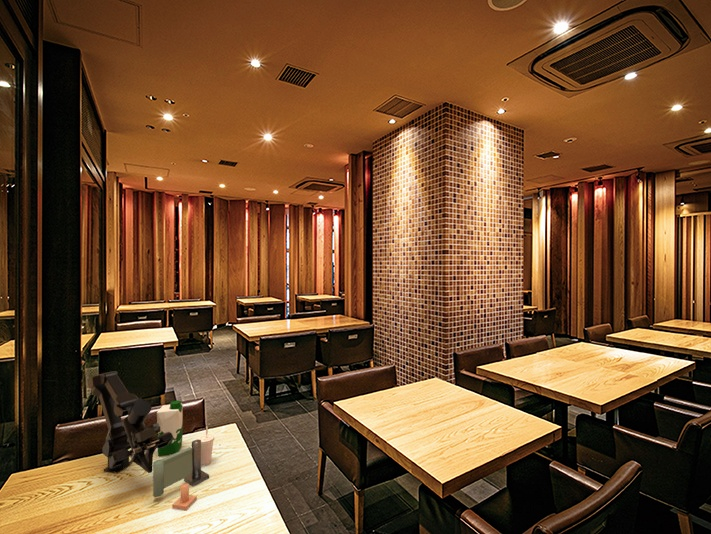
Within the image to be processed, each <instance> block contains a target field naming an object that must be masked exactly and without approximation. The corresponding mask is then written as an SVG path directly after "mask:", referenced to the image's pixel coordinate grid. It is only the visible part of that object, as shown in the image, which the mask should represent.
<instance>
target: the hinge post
mask: <svg viewBox="0 0 711 534" xmlns="http://www.w3.org/2000/svg"><path fill="white" fill-rule="evenodd" d="M191 448H192V475H190V476H188V477H186V478H184V479H183V481H184V483H189V486H191V487H192V488H194V487H196V486H198V485H199V484H201V483H203V482H205V481H207V480H208V479H210V474H209V473H207V472H205V471H203V470H202V465H201V440H197V439H195V440H192V441H191Z"/></svg>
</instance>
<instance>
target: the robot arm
mask: <svg viewBox="0 0 711 534" xmlns="http://www.w3.org/2000/svg"><path fill="white" fill-rule="evenodd" d="M87 384H88V385H87V387H88V388H89V389H90V390H91V393H92V395H94V396H96V397H97V398H98V399H99V402H100V406H101V409H102V413H103V415H104V416H103V417H104V418H105V419H104V420H105V423H106V426H107V430H108V432H107V435H106V437H105V443H104V444H103V446H102V447H101V448H102V449H101V450H102V454H103V456H105V457H106V458H107V467H106V468H103V472H110V473H116V474H117V473H120V472H121V471H123V470H124V469H126V468H127V467H129V466H130V465H132V464H133V463H134V464H135V465H137V466H139V467H140V468H141V469H142V470H144V471H145V472H146V473H148V474H151V473H153V462H154V461H153V460H154V453H155V451H156V450H157V449H158V448H159V449H160V448H163V447H165V446H167V445H169V443H170V442H171V440H172V439H173V435H172V433H170V432H167V433H164V434H162V435H159V437H158V438H157V433H158V432H160V431H161V429H160V426H159V424H158V423H157V422H155V423H153V424H151V425H150V428H148V426H145V421H146V419H147V417H148V416H149V415H150V413H151V410H152V404H151V403H150V402H149V401H147V400H143V398H142V397H139V398H138V396H137V395H136V394H135V393H132V392H129V391H128V390H127V388H126V386H125V384H124V383H123V382H122V380H121V379H120V377H119V373H118V371H116V370H115V371H109V372H103V373H100V374H99V373H98V374H95V375H92V376H91V377H90V379H88V381H87ZM123 417H125V418H124V419H122V418H123ZM154 437H156V440H153V439H154ZM152 440H153V441H152Z"/></svg>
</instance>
